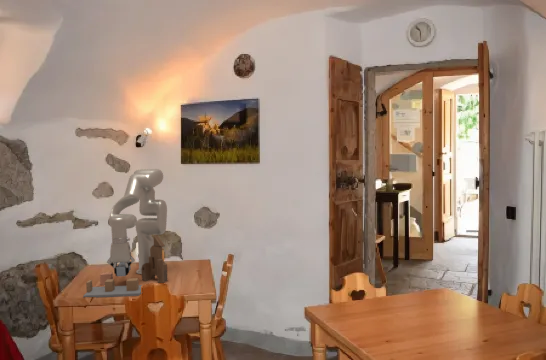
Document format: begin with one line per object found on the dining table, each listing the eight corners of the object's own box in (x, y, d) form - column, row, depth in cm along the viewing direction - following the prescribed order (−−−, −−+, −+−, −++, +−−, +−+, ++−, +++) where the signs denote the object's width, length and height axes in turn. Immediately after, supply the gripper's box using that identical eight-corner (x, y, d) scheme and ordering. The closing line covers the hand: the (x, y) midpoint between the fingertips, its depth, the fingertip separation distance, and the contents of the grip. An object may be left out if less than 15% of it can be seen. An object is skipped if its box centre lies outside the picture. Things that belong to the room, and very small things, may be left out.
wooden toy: (141, 280, 287) (139, 235, 286) (150, 277, 292) (148, 233, 291) (160, 284, 278) (159, 237, 277) (170, 281, 284) (168, 235, 282)
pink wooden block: (102, 283, 282) (102, 272, 281) (113, 283, 282) (112, 272, 282) (100, 285, 277) (100, 274, 277) (111, 285, 278) (110, 274, 277)
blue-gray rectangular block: (122, 269, 286) (121, 260, 285) (130, 269, 286) (130, 260, 286) (116, 276, 273) (116, 267, 272) (125, 276, 273) (125, 266, 273)
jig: (92, 289, 270) (92, 277, 270) (145, 287, 272) (145, 275, 272) (83, 298, 254) (82, 285, 254) (139, 295, 256) (139, 283, 256)
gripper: (137, 238, 277) (139, 272, 279) (104, 239, 276) (107, 273, 278) (134, 241, 269) (136, 276, 271) (101, 242, 268) (103, 277, 270)
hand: (121, 274), depth 275 cm, fingers closed on blue-gray rectangular block, 4 cm apart
